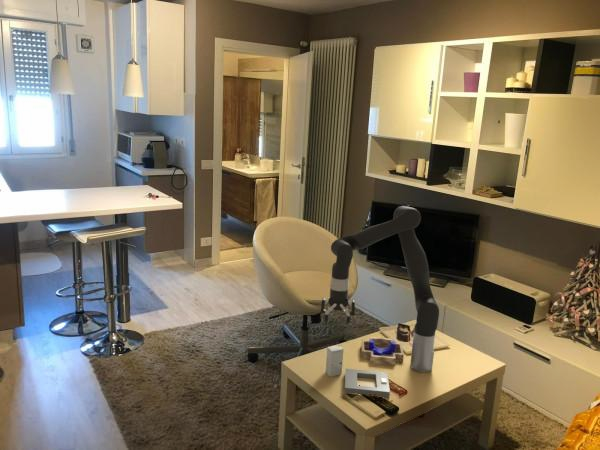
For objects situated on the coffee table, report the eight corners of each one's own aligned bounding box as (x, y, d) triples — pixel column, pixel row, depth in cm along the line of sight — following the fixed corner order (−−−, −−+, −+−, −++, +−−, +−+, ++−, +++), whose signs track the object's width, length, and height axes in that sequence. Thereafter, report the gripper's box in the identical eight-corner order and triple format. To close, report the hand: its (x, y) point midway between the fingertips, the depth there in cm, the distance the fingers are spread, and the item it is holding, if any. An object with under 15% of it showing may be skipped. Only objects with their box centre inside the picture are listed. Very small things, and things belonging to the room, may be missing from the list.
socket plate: (386, 378, 216) (387, 371, 215) (389, 398, 201) (390, 390, 200) (345, 374, 217) (345, 367, 216) (344, 394, 203) (345, 386, 202)
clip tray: (400, 346, 245) (400, 339, 244) (403, 366, 227) (404, 359, 226) (361, 342, 247) (361, 336, 246) (361, 362, 228) (362, 355, 227)
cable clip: (369, 355, 235) (369, 343, 234) (368, 350, 240) (369, 339, 238) (394, 357, 234) (395, 345, 233) (393, 352, 239) (394, 341, 237)
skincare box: (329, 377, 215) (331, 351, 212) (325, 371, 219) (326, 346, 216) (342, 374, 217) (344, 349, 214) (337, 369, 221) (339, 344, 218)
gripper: (356, 285, 211) (353, 320, 215) (322, 282, 213) (320, 317, 217) (356, 291, 204) (353, 328, 208) (321, 289, 205) (319, 325, 209)
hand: (336, 322), depth 212 cm, fingers open, 8 cm apart
